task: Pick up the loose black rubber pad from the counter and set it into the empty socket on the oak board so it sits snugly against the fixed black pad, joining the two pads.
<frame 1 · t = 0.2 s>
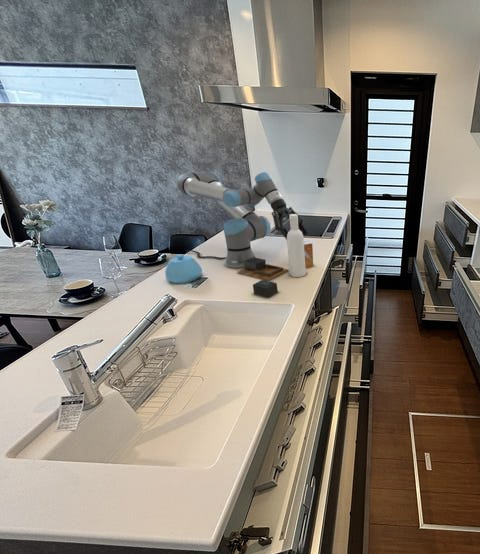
hand: (298, 237, 158), 15 cm above the counter, tool tilted 35°, fingers open, 13 cm apart
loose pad: (265, 293, 132), on the counter
pad board: (263, 272, 154), on the counter
sugar bowl: (185, 278, 145), on the counter
small box: (304, 266, 163), on the counter
bottle: (297, 274, 153), on the counter
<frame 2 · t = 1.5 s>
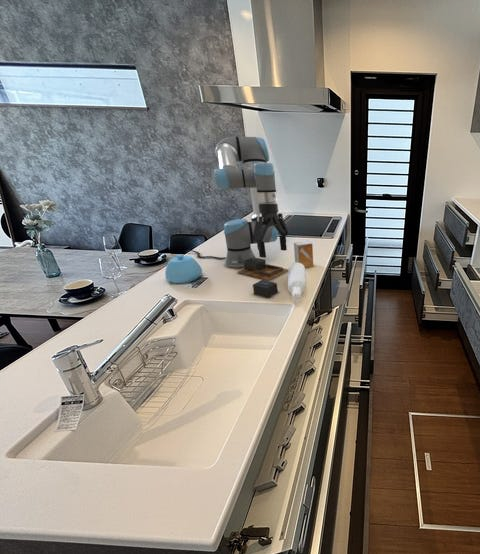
hand: (273, 253, 131), 17 cm above the counter, tool pointing down, fingers open, 13 cm apart
bottle: (297, 269, 148), point 4 cm above the counter
everything else where it was.
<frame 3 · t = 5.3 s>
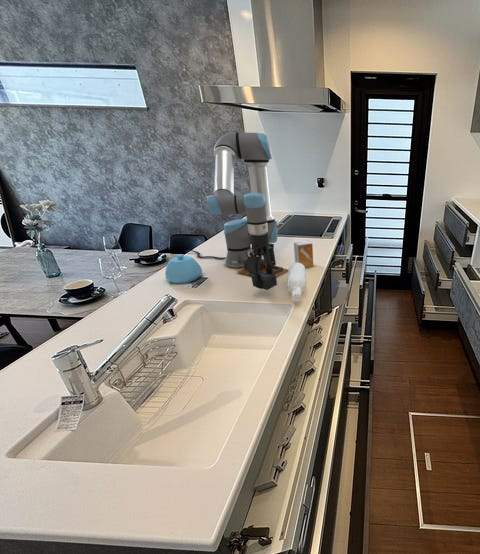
hand: (265, 284, 131), 4 cm above the counter, tool pointing down, fingers closed on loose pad, 6 cm apart
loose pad: (265, 285, 131), point 3 cm above the counter, touching gripper
everything else where it was.
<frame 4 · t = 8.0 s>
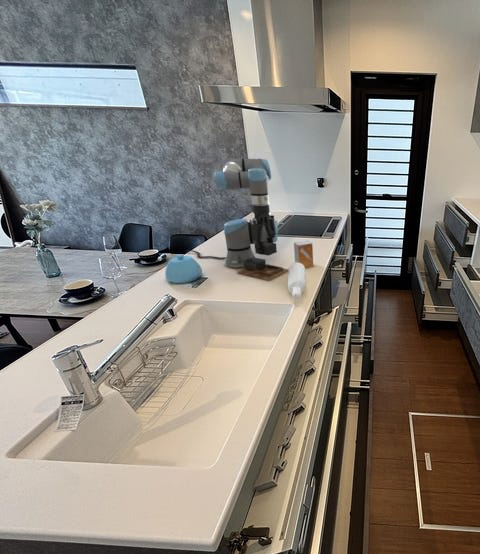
hand: (266, 252, 148), 11 cm above the counter, tool pointing down, fingers closed on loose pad, 6 cm apart
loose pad: (266, 252, 148), point 11 cm above the counter, touching gripper
everything else where it was.
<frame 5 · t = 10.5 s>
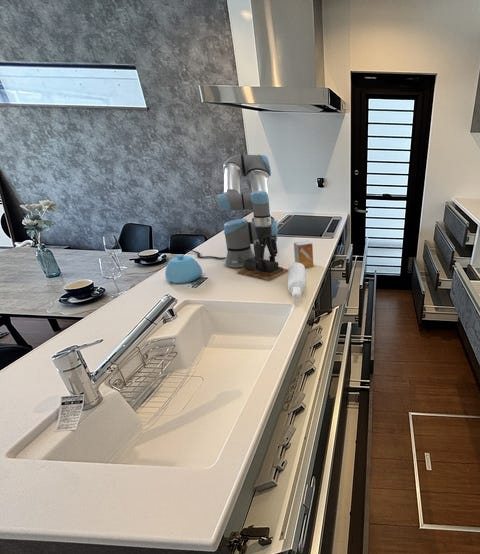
hand: (268, 270, 152), 1 cm above the counter, tool pointing down, fingers closed on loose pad, 6 cm apart
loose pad: (268, 271, 152), point 1 cm above the counter, touching gripper
everything else where it was.
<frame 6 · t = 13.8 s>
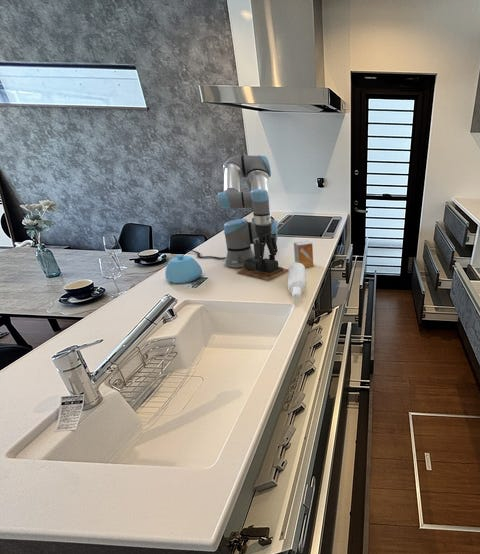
hand: (268, 269, 152), 2 cm above the counter, tool pointing down, fingers closed on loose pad, 6 cm apart
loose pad: (268, 269, 152), point 2 cm above the counter, touching gripper
everything else where it was.
when the fingers open (3 cm above the counter, at t = 16.6 s): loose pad stays where it is, resting on pad board.
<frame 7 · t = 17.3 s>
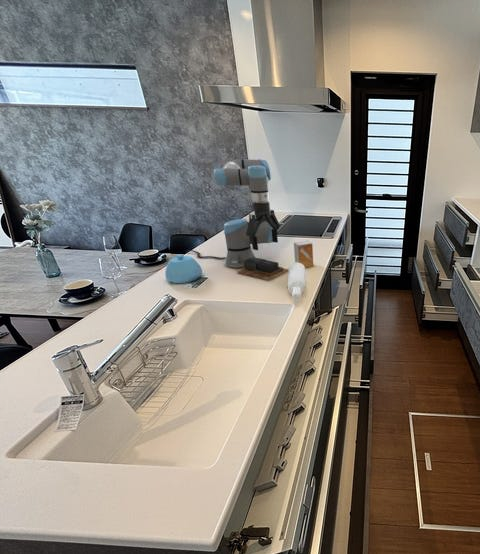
hand: (265, 245, 147), 14 cm above the counter, tool pointing down, fingers open, 13 cm apart
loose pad: (268, 271, 152), point 1 cm above the counter, touching pad board
everything else where it was.
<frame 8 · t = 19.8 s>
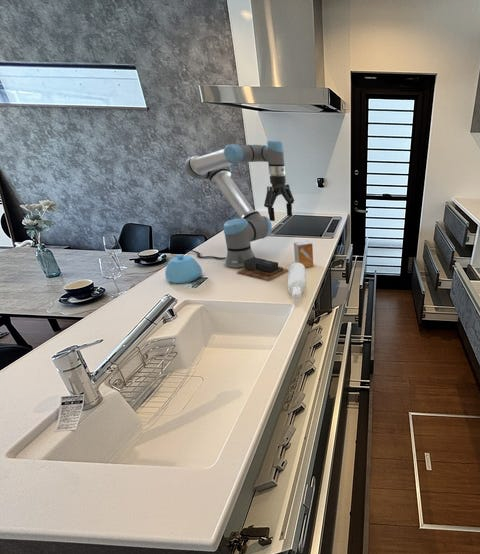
hand: (281, 218, 157), 25 cm above the counter, tool pointing down, fingers open, 13 cm apart
nothing on the counter moved.
at the end: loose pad 0.1 cm from the target spot on the pad board, point 1.0 cm above the pad board's base; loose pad tilted 0°; the gripper is holding nothing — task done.
